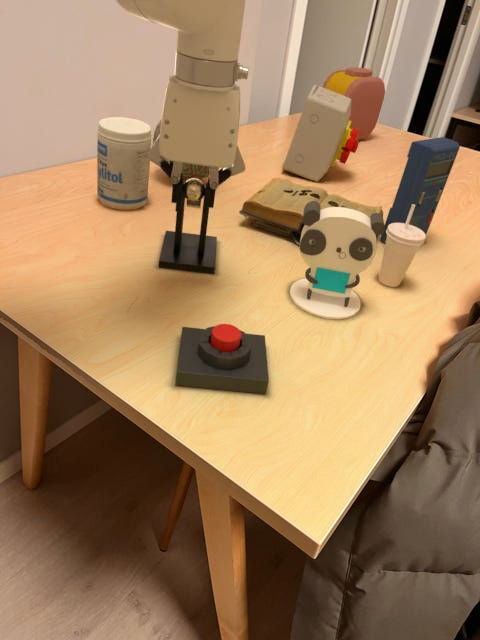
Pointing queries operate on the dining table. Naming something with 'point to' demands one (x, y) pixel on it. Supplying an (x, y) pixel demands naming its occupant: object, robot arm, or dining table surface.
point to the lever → (194, 192)
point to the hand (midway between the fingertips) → (192, 208)
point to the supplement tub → (123, 162)
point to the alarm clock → (359, 96)
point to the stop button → (225, 338)
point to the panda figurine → (334, 259)
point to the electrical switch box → (321, 135)
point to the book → (293, 206)
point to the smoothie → (399, 250)
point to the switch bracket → (189, 247)
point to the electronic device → (422, 182)
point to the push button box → (222, 363)
